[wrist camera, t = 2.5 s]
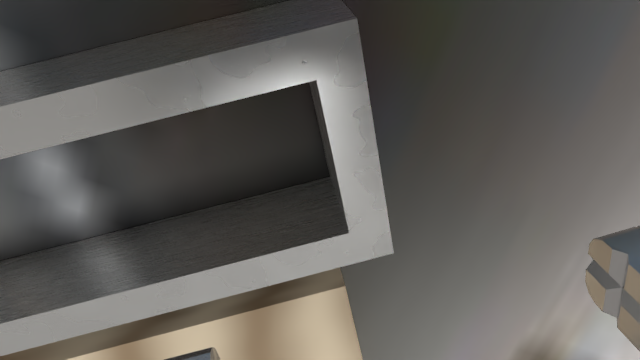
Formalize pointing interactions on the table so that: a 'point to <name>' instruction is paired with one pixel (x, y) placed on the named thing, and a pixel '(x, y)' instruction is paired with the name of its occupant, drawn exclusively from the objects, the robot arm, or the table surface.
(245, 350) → the plate
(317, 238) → the silver rectangular frame
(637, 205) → the table surface
